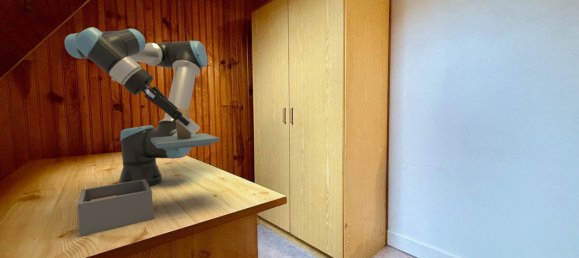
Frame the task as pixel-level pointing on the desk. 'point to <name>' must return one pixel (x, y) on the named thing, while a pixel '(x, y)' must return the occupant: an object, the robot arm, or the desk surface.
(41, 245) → the desk surface
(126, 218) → the storage box
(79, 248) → the desk surface
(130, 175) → the robot arm
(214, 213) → the desk surface
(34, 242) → the desk surface
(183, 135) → the lid
